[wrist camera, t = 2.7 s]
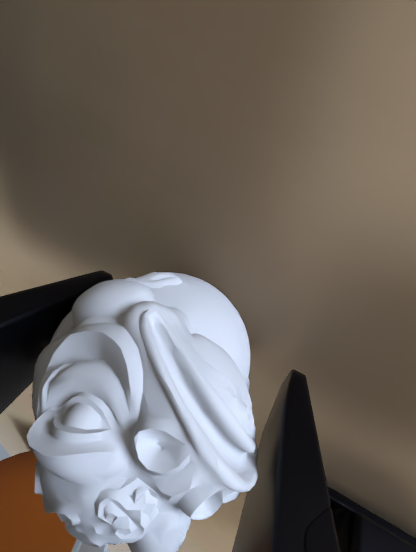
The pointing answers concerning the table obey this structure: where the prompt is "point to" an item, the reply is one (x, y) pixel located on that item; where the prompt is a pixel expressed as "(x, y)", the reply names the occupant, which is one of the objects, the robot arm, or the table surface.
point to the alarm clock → (30, 513)
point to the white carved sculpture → (143, 412)
